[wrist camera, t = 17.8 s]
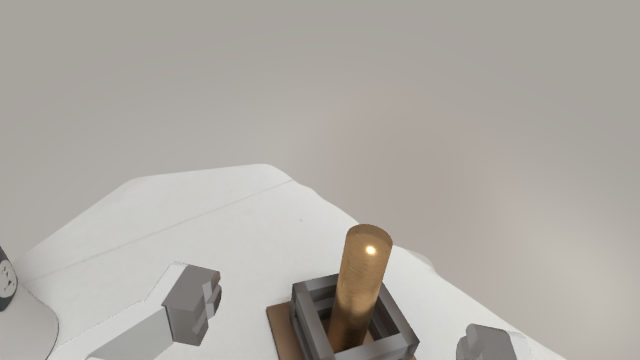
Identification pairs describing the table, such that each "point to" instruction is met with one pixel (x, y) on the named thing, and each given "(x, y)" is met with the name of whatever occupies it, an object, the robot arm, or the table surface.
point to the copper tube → (358, 285)
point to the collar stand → (314, 318)
